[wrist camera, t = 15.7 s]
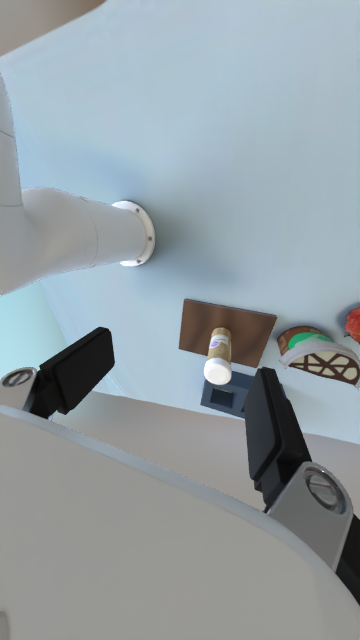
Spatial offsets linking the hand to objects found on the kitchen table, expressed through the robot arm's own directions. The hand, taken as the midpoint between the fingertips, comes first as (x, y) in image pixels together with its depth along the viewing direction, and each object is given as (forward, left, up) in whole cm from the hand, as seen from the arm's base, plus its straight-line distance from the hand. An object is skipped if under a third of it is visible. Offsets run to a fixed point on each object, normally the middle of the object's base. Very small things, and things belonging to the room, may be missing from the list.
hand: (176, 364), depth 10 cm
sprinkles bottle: (+4, -13, -27) cm, 31 cm away
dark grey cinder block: (+12, -29, -28) cm, 42 cm away
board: (+4, -13, -28) cm, 31 cm away
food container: (+21, -9, -28) cm, 37 cm away
